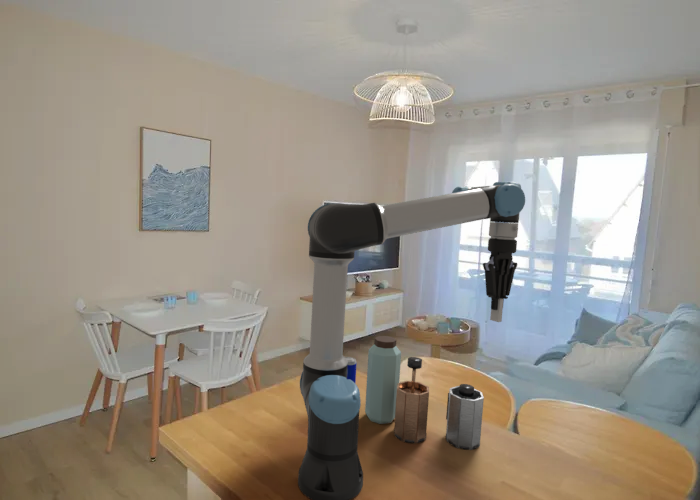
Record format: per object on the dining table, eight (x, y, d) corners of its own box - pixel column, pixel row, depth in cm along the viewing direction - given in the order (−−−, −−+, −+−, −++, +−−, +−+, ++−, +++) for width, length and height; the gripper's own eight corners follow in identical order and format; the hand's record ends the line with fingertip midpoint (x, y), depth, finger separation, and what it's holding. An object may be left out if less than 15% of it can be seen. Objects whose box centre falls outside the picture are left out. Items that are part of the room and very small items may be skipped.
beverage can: (336, 401, 138) (338, 357, 136) (350, 398, 140) (352, 355, 139) (342, 407, 133) (344, 362, 132) (356, 405, 135) (359, 361, 134)
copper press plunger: (412, 402, 113) (414, 365, 112) (396, 393, 119) (398, 357, 118) (429, 397, 117) (431, 361, 116) (412, 388, 123) (415, 354, 122)
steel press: (464, 453, 111) (468, 403, 110) (436, 435, 119) (439, 388, 118) (486, 443, 116) (490, 395, 115) (458, 427, 125) (461, 382, 123)
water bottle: (396, 411, 133) (401, 335, 130) (397, 427, 123) (402, 345, 121) (365, 408, 134) (370, 333, 131) (363, 423, 124) (368, 342, 122)
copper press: (409, 446, 113) (412, 397, 111) (384, 429, 121) (387, 383, 120) (433, 437, 118) (436, 390, 117) (408, 421, 126) (411, 377, 125)
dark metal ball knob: (465, 431, 112) (468, 393, 111) (447, 420, 118) (449, 384, 117) (480, 425, 116) (484, 388, 115) (462, 415, 121) (465, 380, 120)
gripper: (500, 239, 108) (493, 326, 110) (528, 239, 116) (521, 321, 118) (476, 236, 114) (470, 320, 117) (504, 237, 122) (498, 315, 124)
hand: (495, 320), depth 117 cm, fingers closed
